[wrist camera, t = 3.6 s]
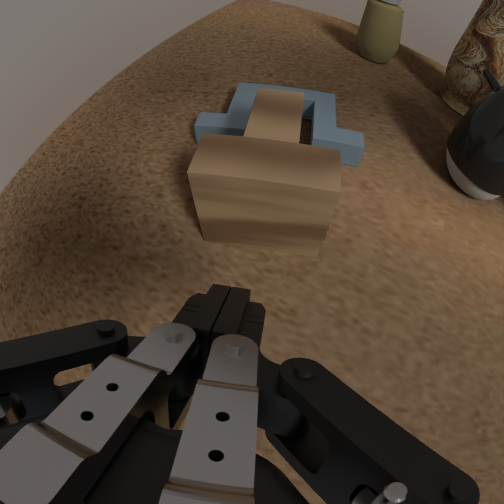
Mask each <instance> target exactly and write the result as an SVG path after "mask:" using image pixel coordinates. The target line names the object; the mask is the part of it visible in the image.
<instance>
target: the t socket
mask: <svg viewBox="0 0 504 504" xmlns="http://www.w3.org/2000/svg"><path fill="white" fill-rule="evenodd" d="M258 88H267V89H276V90H285V91H293V92H300V93H304V100H303V110H302V119H307V120H312V124H311V139H310V145H312V146H319V147H325V148H330V149H336V150H340V156H341V164H344V165H350V166H355V167H358V165H359V162H360V160H361V157H362V154H363V151H364V148H365V146H364V137H363V133H361V132H356V131H352V130H347V129H341V128H336V103H335V94H331V93H325V92H320V91H313V90H307V89H300V88H292V87H284V86H276V85H266V84H255V83H242V82H240V83H239V85H238V87H237V90H236V92H235V94H234V97H233V99H232V102H231V104H230V107H229V109H228V112H227V114H226V113H210V112H200V114H199V116H198V118H197V120H196V122H195V124H194V129H195V134H196V140H197V146H198V144H199V142H200V140H201V137H202V135H203V133H208V134H221V135H233V136H244V133H245V129H246V126H247V123H248V120H249V116H250V113H251V110H252V107H253V104H254V100H255V97H256V94H257V91H258Z"/></svg>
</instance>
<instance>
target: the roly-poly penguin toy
mask: <svg viewBox="0 0 504 504" xmlns="http://www.w3.org/2000/svg"><path fill="white" fill-rule="evenodd" d="M483 74H484V76H485V78H486V80H487V82H488V84H489V86H490V87H491V89H492V91H491V92H490V93H488V94H487V95H485V96H484V97H482V98H481V99H480V100H478V101H477V102H476V103H475V104H474V105H473V106H472V107H471V108H470V109H469V110H468V111H467V112H466V113H465V114H464V116H463V117H462V118H461V119H460V121H459V122H458V123H457V125H456V126H455V127H454V129H453V130H452V132H451V134H450V135H449V137H448V140H447V152H446V162H447V167H448V170H449V173H450V175H451V177H452V179H453V180H454V182H455V183H456V184H457V185H458V186H459V188H460V189H461V190H463V191H464V192H465V193H466V194H468V195H470V196H471V197H473V198H476V199H479V200H492V199H495V198H497V197H499V196H501V195H504V86H501V85H500V84H499V82H498V81H497V79H496V78H495V77H494V75H493V74H492V72H491V71H490V70H489V69H488V68H486V69H484V70H483Z"/></svg>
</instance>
